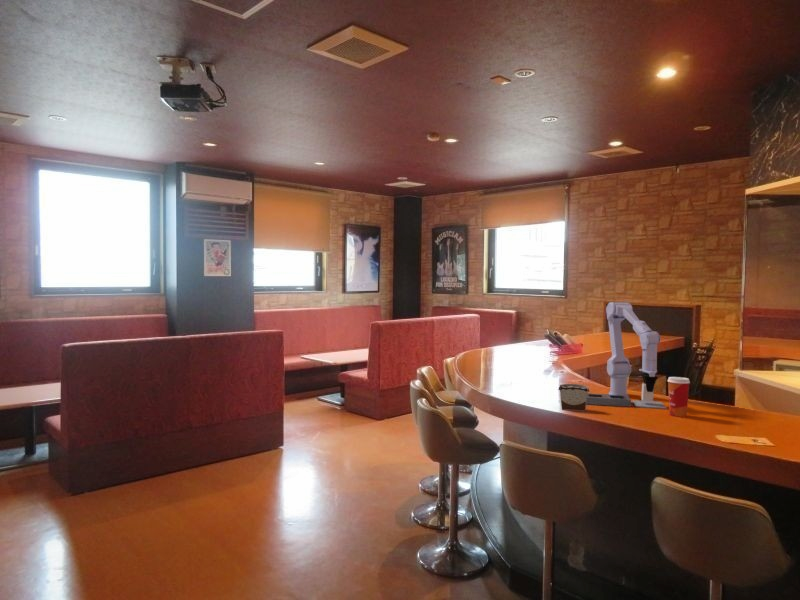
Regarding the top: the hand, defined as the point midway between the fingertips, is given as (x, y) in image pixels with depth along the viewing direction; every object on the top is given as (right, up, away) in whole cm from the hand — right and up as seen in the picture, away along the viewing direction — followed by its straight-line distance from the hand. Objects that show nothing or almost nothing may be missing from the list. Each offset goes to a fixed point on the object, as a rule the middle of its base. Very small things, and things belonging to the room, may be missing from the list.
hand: (648, 390), depth 235 cm
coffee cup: (+3, -7, -18) cm, 20 cm away
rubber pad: (0, -6, 0) cm, 6 cm away
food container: (-35, -7, -8) cm, 37 cm away
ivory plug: (-1, -4, 0) cm, 4 cm away
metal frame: (-18, -6, +4) cm, 19 cm away
